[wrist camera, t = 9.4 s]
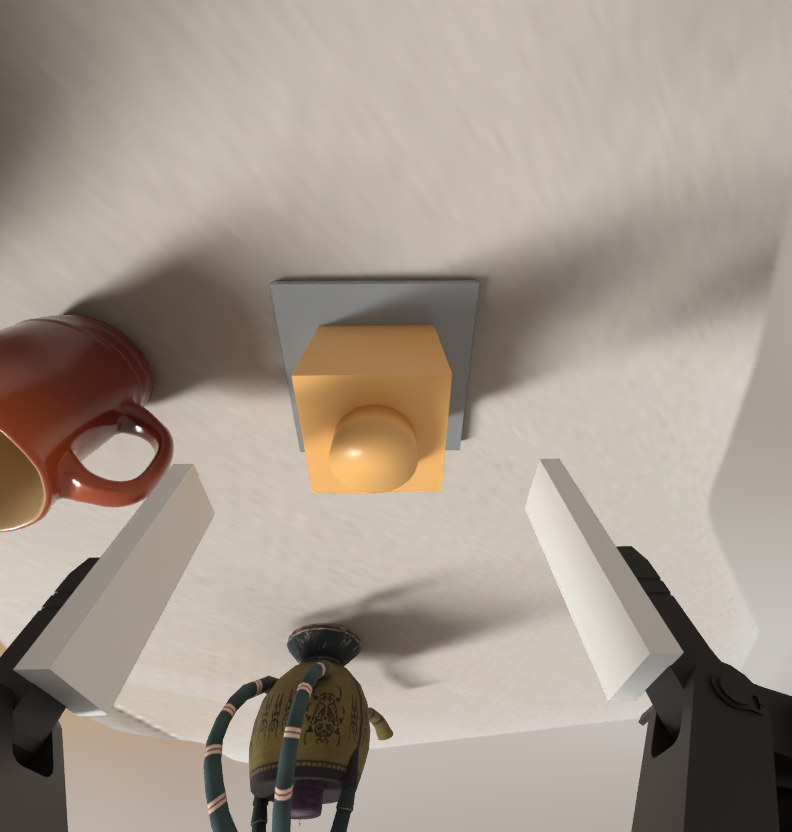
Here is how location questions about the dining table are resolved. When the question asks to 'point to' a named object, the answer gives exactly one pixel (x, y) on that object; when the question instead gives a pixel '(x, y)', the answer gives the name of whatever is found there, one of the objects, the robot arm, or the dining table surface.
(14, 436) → the mug
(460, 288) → the plate
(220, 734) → the teapot
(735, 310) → the dining table surface
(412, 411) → the orange cube with dome
